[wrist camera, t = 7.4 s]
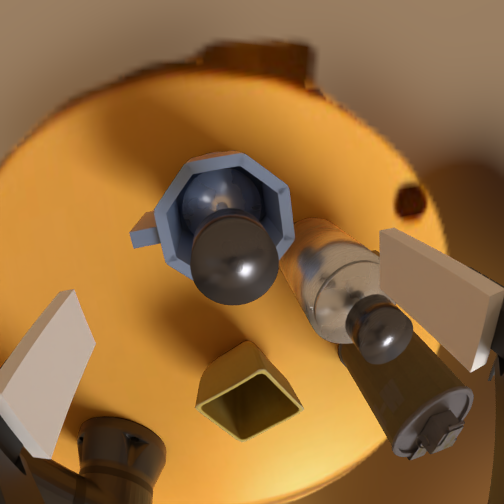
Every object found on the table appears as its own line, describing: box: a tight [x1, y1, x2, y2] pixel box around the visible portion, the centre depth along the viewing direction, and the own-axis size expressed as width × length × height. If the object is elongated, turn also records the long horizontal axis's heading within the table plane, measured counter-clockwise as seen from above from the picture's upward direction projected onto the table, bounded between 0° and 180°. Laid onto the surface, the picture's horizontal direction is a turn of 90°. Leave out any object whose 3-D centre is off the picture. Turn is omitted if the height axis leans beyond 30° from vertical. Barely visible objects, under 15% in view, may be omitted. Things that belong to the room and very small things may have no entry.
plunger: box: [182, 168, 279, 305], centre depth 21 cm, size 7×7×14 cm
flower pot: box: [195, 341, 304, 442], centre depth 35 cm, size 9×9×9 cm
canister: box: [338, 331, 474, 460], centre depth 32 cm, size 11×10×20 cm
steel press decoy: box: [279, 218, 413, 364], centre depth 28 cm, size 10×8×18 cm
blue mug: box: [129, 150, 295, 280], centre depth 27 cm, size 11×9×12 cm
